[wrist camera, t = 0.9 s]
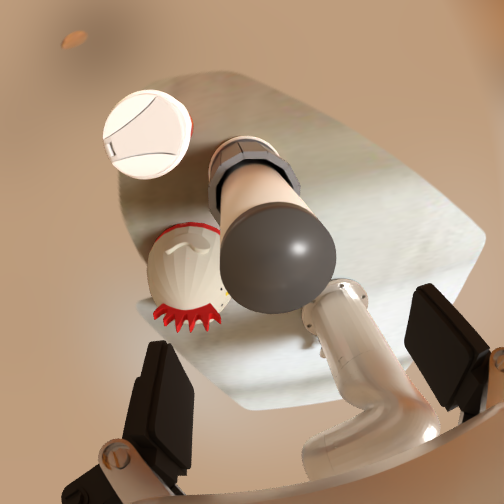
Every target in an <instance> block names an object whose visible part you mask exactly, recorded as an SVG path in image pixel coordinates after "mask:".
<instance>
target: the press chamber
mask: <svg viewBox="0 0 504 504" xmlns="http://www.w3.org/2000/svg"><path fill="white" fill-rule="evenodd" d="M243 159H261V160H264V161H266V162H267V163H269V164H270V165H271V166H273V168H274V169H275V170H276V171H277V172H278V173H279V174H280V175H281V176H282V178H283V179H284V180H285V181H286V182H287V183H288V184H289V186H290V187H291V188H292V189H293V190H294V191H295V192H296V194H297V195H298V196H299V197H300V187H301V186H300V183H299V181H298V179H297V177H296V175H295V173H294V172H293V170H292V168H291V166H290V165H289V163H287V162H286V161H285V160H284V159H282V158H281V157H280V156H279V154H278V153H277V151H276V150H275V149H274V148H273V147H272V146H271V145H270V144H269V143H267V142H266V141H264V140H262V139H260V138H257V137H253V136H239V137H235V138H232V139H230V140H228V141H226V142H224V143H223V144H222V145H221V146H220V147H219V148H218V149H217V150H216V151H215V153H214V154H213V156H212V158H211V161H210V164H209V171H208V175H209V185H208V199H209V209H210V210H209V211H210V212H211V214H212V215H213V217H214V218H215V220H216V221H217V223H218V224H219V226H220V220H221V186H222V179H223V176H224V174H225V173H226V171H227V170H228V168H230V167H231V166H233V165H235V164H237V163H238V162H240V161H242V160H243Z"/></svg>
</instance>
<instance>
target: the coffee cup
mask: <svg viewBox="0 0 504 504" xmlns="http://www.w3.org/2000/svg"><path fill="white" fill-rule="evenodd" d="M192 133H193V121H192V118H191V116H190V114H189V113H188V111H187V110H186V108H185V107H184V105H183V104H181V103H180V102H179V101H177V100H176V99H175V98H173V97H172V96H170V95H168V94H166V93H164V92H161V91H156V90H142V91H138V92H135V93H132V94H130V95H128V96H126V97H125V98H123V99H122V100H121V101H119V102H118V103H117V104H116V105H115V106H114V108H113V109H112V111H111V112H110V114H109V116H108V118H107V120H106V123H105V126H104V130H103V142H104V148H105V151H106V154H107V156H108V158H109V160H110V161H111V163H112V164H113V165H114V167H115V168H116V169H118V170H119V171H120V172H121V173H123V174H125V175H127V176H129V177H132V178H136V179H153V178H157V177H160V176H162V175H164V174H166V173H168V172H169V171H171V170H172V169H173V168H174V167H176V166H177V165H178V164H179V162H180V161H181V160H182V158H183V157H184V155H185V153H186V151H187V149H188V146H189V142H190V138H191V136H192Z"/></svg>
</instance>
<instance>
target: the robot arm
mask: <svg viewBox="0 0 504 504" xmlns="http://www.w3.org/2000/svg"><path fill="white" fill-rule="evenodd" d="M367 307H368V296H367V293H366V291H365V290H364V288H363V287H362V286H361V285H360V284H359V283H357V282H355V281H353V280H349V279H338V280H333V281H330V282H329V283H328V285H327V286H326V288H325V289H324V290H323V291H322V293H321V294H320V295H319V296H318V297H316V298H315V299H314V300H313V301H311V302H310V303H308V304H307V305H305V306H303V308H302V321H303V323H304V326H305V328H306V329H307V330H308V331H309V332H310V333H312V334H314V335H316V336H318V338H319V341H320V343H321V346H322V347H321V351H320V356H321V357H322V358H326V359H327V362H328V365H329V367H330V370H331V373H332V375H333V378H334V381H335V383H336V386H337V389H338V391H339V393H340V395H341V396H342V398H343V399H344V400H345V401H347V402H348V403H349V404H351V405H353V406H355V407H357V408H359V409H362V410H365V411H364V412H362V413H360V414H358V415H356V416H355V417H353V418H351V419H350V420H348V421H345V422H343V423H341V424H339V425H337V426H334V427H332V428H330V429H328V430H326V431H323V432H321V433H319V434H317V435H315V436H313V437H312V438H310V439H309V440H308V441H307V442H306V443H305V444H304V446H303V449H302V462H303V466H304V469H305V472H306V474H307V476H308V478H309V480H310V482H305V483H300V484H295V485H290V486H284V487H278V488H272V489H265V490H256V491H248V492H238V493H227V494H226V493H225V494H207V495H186V494H185V493H184V492H183V491H182V490H181V489H180V487H178V485H177V484H176V483H177V477H178V476H179V475H180V476H181V475H182V476H187V469H190V468H191V456H192V429H193V409H194V389H193V386H192V384H191V382H190V381H189V378H188V377H187V375H186V373H185V371H184V369H183V367H182V365H181V363H180V361H179V359H178V357H177V355H176V353H175V351H174V349H173V346H172V345H171V344H170V343H169V344H167V342H166V341H165V340H162V341H153V342H150V343H149V345H148V348H147V352H146V356H145V360H144V364H143V368H142V372H141V376H140V377H137V378H136V380H135V383H134V387H133V391H132V395H131V399H130V404H129V408H128V412H127V417H126V421H125V427H124V431H123V436H122V439H119V438H118V439H112V440H110V441H108V442H107V443H105V445H103V446H102V448H101V449H100V451H99V455H98V461H99V464H98V465H96V466H95V467H93V468H92V469H91V470H89V471H88V472H86V473H85V474H83V475H82V476H81V477H79V478H78V479H76V480H75V481H73V482H72V483H70V484H69V485H67V486H66V487H65V488H64V490H63V492H62V496H61V498H62V504H504V347H499V348H496V349H495V350H493V351H492V353H491V352H490V350H489V349H490V347H489V346H488V345H487V344H486V342H485V341H484V340H483V339H482V338H481V336H480V335H479V334H478V333H477V332H476V331H475V329H474V328H473V327H472V326H471V325H470V324H469V323H468V322H467V321H466V319H465V318H464V317H463V316H462V315H461V314H460V313H459V312H458V310H456V308H455V307H454V306H453V305H452V304H451V303H450V302H449V301H448V300H447V299H446V298H445V297H444V296H443V295H442V294H441V292H440V291H439V290H438V289H437V288H436V287H435V286H434V285H433V284H431V283H428V284H425V285H421V286H419V287H417V288H416V291H415V292H414V293H413V298H412V304H411V309H410V315H409V320H408V325H407V329H406V334H405V338H404V344H405V347H406V349H407V351H408V352H409V354H410V355H411V357H412V359H413V360H414V362H415V363H416V365H417V367H418V368H419V370H420V371H421V373H422V375H423V376H424V378H425V380H426V381H427V383H428V385H429V386H430V388H431V390H432V391H433V393H434V395H435V396H436V398H437V400H438V402H439V403H440V405H441V406H442V407H445V408H446V410H447V411H450V410H452V409H454V408H456V407H458V406H459V408H460V410H461V413H460V418H459V422H458V426H457V427H455V428H453V429H451V430H449V431H447V432H445V433H444V434H442V435H440V436H439V434H440V422H439V418H438V416H437V414H436V412H435V411H434V409H433V408H432V406H431V405H430V404H429V403H428V401H427V400H426V399H425V398H424V396H423V395H422V394H421V393H420V392H419V390H418V389H417V388H416V387H415V385H414V384H413V383H412V381H411V380H410V378H409V377H408V375H407V374H406V372H405V371H404V369H403V368H402V366H401V364H400V363H399V361H398V359H397V358H396V356H395V354H394V353H393V351H392V349H391V347H390V346H389V344H388V343H387V341H386V339H385V338H384V336H383V334H382V333H381V331H380V329H379V328H378V326H377V325H376V323H375V321H374V320H373V318H372V317H371V315H370V313H369V312H368V310H367Z"/></svg>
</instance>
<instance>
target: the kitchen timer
mask: <svg viewBox="0 0 504 504" xmlns="http://www.w3.org/2000/svg"><path fill="white" fill-rule="evenodd" d="M147 277H148V283H149V289H150V293H151V296H152V298H153V300H154V301H155V303H156V305H157V307H158V308H157V309H156V310H155V311H154V313H153V316H154V320H156V319H157V318H158V317H160V316H161V315H163V314H165V317H164V318H163V322H164V326H167V325H168V324H169V323H170V322H171V321H173V320H174V321H175V325H176V331H177V333H178V332H179V331H180V329H181V327H182V325H183V324H189V330H190V333H191V332H192V330H193V328H194V326H195V324H200V323H201V324H203V325H204V327H205V330H206V331H208V330H209V323H210V322H212V321H213V320H216V321H217V322H218V323H219V324H221V316H220V315H219V313H220V312H221V311H222V310H223V309H224V307H225V306H226V305H227V303H228V302H229V301H230V299H231V296H230V295H229V294H228V292H227V291H226V289H225V287H224V285H223V283H222V280H221V276H220V230H218V229H217V228H214V227H212V226H209V225H207V224H204V223H195V222H188V223H182V224H177V225H175V226H173V227H171V228H169V229H167V230H165V231H164V232H163V233H162V234H161V235H160V236H159V237H158V238H157V239H156V241H155V243H154V245H153V247H152V249H151V251H150V253H149V257H148V264H147Z"/></svg>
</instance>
